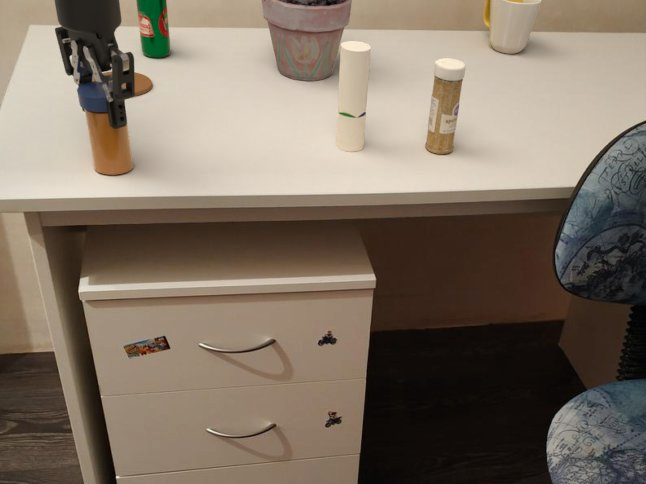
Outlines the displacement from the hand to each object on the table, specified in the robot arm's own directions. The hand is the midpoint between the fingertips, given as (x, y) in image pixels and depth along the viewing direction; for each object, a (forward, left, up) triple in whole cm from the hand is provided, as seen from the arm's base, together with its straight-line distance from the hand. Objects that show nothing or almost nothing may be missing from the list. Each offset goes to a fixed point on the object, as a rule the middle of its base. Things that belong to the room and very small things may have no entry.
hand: (104, 118), depth 108 cm
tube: (+31, -17, -7) cm, 36 cm away
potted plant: (+48, +8, -7) cm, 49 cm away
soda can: (+33, +31, -7) cm, 45 cm away
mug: (+92, -7, -7) cm, 93 cm away
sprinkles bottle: (+41, -27, -7) cm, 50 cm away
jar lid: (0, 0, +4) cm, 4 cm away
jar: (0, 0, -7) cm, 7 cm away
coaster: (+19, +23, -7) cm, 30 cm away
